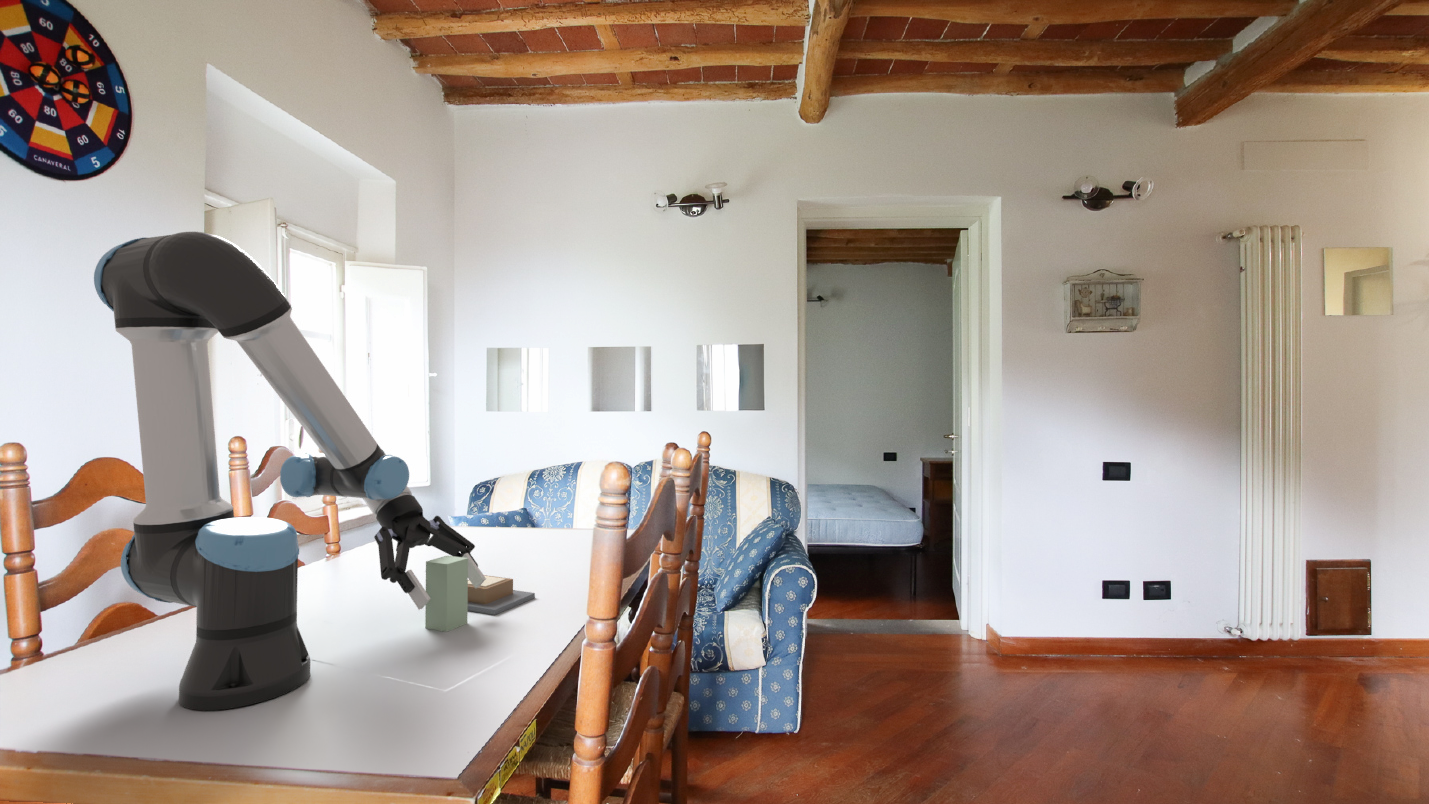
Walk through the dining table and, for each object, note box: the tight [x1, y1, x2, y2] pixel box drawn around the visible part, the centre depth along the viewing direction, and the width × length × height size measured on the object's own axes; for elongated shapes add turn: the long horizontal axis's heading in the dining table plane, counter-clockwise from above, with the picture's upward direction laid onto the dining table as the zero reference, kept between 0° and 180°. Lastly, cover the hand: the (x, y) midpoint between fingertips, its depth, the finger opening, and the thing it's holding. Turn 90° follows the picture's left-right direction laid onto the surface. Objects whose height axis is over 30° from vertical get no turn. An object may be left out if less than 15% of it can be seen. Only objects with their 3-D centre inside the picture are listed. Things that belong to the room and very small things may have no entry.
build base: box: [467, 574, 536, 616], centre depth 131 cm, size 12×16×4 cm
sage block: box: [424, 555, 469, 633], centre depth 116 cm, size 5×5×12 cm
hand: (454, 593), depth 116 cm, fingers open, 13 cm apart
